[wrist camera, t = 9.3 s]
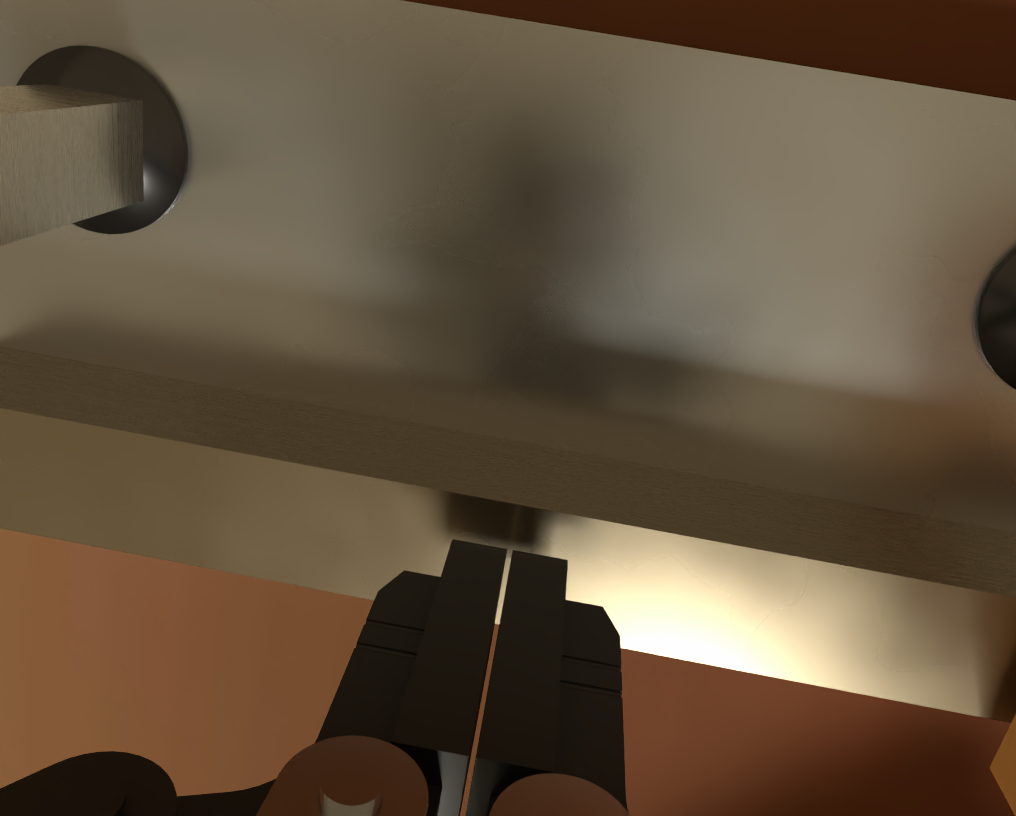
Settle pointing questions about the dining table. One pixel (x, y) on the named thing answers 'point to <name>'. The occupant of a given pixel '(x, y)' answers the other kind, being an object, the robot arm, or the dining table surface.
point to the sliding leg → (1007, 766)
